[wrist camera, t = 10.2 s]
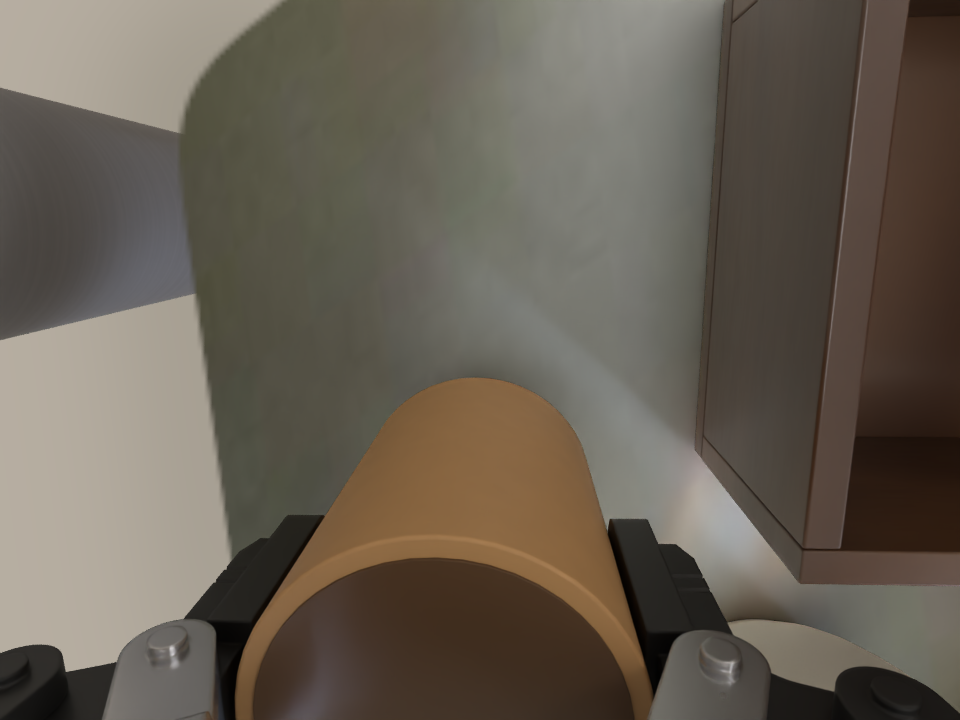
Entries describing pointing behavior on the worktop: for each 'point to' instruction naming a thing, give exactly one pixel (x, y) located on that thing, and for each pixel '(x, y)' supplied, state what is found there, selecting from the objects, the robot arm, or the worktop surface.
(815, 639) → the pitcher
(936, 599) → the worktop surface
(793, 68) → the chest
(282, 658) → the tan cylinder
